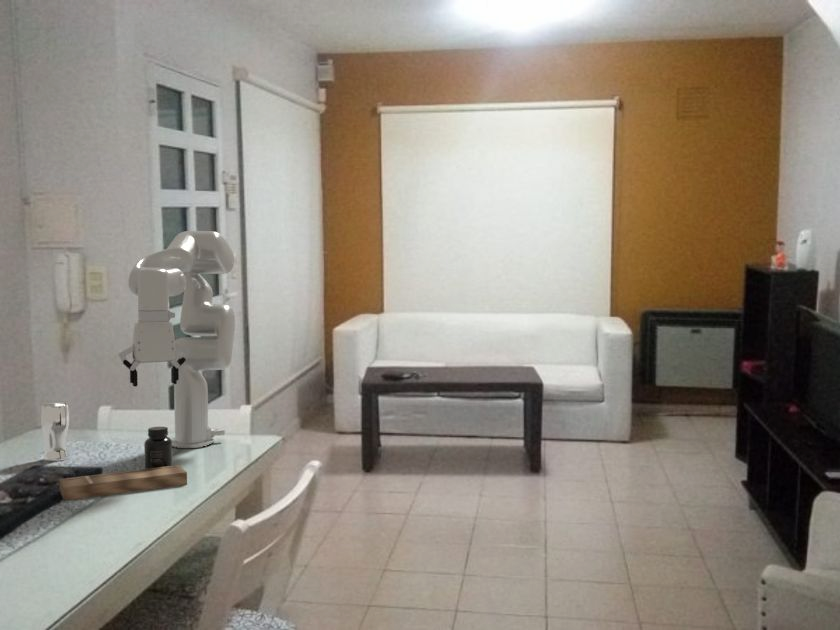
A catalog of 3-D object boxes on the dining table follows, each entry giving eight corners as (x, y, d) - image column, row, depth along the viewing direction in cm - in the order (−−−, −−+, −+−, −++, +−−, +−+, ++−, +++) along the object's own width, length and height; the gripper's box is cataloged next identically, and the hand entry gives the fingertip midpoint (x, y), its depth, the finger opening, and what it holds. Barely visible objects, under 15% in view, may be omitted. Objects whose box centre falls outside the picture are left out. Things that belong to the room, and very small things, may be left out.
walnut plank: (179, 476, 214) (178, 464, 214) (187, 484, 208) (186, 471, 207) (59, 491, 201) (59, 478, 200) (64, 500, 194) (63, 487, 194)
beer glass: (74, 456, 235) (73, 402, 234) (61, 462, 228) (60, 407, 227) (51, 455, 235) (49, 401, 234) (37, 461, 229) (35, 406, 227)
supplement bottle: (178, 472, 218) (177, 426, 217) (160, 479, 212) (159, 432, 211) (157, 469, 221) (157, 424, 220) (139, 476, 215) (138, 429, 214)
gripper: (185, 315, 221) (185, 380, 222) (115, 317, 213) (116, 384, 214) (191, 317, 215) (192, 384, 216) (120, 319, 207) (121, 388, 208)
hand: (154, 384), depth 215 cm, fingers open, 9 cm apart
